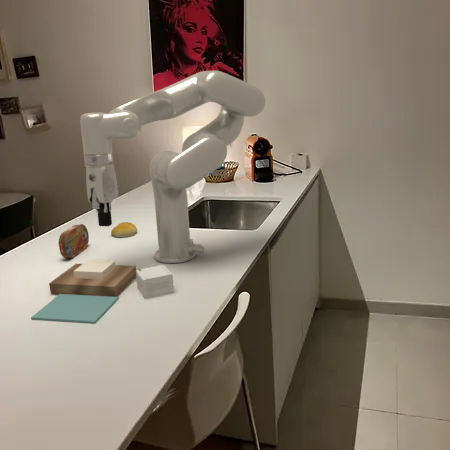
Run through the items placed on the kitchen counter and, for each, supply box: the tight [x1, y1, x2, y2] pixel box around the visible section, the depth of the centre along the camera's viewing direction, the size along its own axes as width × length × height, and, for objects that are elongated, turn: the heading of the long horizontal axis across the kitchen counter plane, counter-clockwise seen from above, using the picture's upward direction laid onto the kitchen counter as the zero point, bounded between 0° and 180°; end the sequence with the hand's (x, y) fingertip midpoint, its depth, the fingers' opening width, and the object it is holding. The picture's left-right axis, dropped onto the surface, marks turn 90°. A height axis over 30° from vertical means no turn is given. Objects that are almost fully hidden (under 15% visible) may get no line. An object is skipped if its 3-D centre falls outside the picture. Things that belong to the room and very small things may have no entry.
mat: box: [31, 294, 119, 324], centre depth 123 cm, size 16×13×1 cm
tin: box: [58, 223, 90, 259], centre depth 161 cm, size 15×3×8 cm, turn 168°
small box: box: [135, 264, 175, 299], centre depth 131 cm, size 8×8×5 cm
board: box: [48, 263, 137, 297], centre depth 136 cm, size 18×14×3 cm
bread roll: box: [110, 221, 138, 239], centre depth 179 cm, size 8×9×4 cm
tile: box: [74, 259, 116, 279], centre depth 137 cm, size 8×8×2 cm
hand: (105, 225), depth 143 cm, fingers closed
